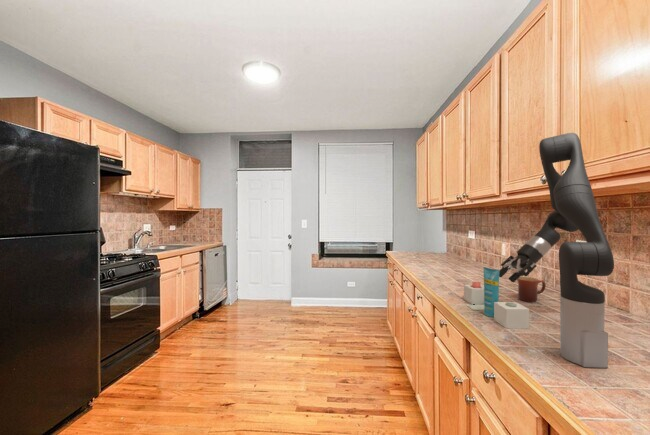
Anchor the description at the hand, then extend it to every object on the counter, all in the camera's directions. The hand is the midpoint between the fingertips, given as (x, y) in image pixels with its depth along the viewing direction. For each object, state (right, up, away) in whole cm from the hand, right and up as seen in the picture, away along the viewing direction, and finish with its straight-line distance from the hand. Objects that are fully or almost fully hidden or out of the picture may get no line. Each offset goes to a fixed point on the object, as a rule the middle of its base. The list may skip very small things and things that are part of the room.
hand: (504, 278), depth 113 cm
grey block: (-2, -15, +18) cm, 23 cm away
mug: (+25, -15, +19) cm, 35 cm away
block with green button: (-3, -15, -9) cm, 18 cm away
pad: (-5, -15, +9) cm, 18 cm away
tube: (-5, -15, 0) cm, 16 cm away
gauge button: (-2, -10, +18) cm, 20 cm away
